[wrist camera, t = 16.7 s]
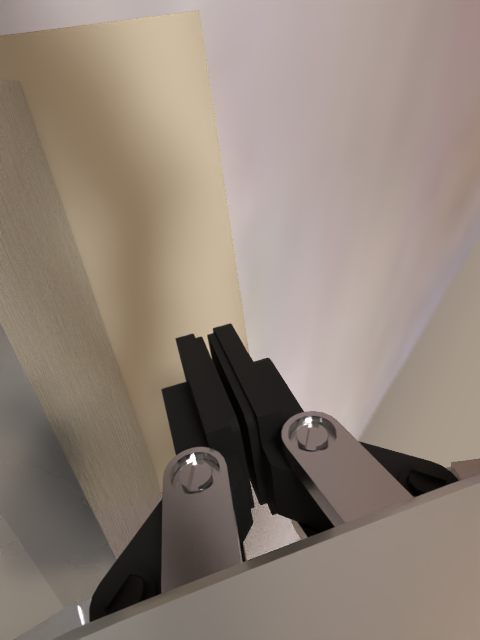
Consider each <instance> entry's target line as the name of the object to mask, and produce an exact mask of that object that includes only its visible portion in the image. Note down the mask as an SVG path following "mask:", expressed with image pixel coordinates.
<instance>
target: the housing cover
mask: <svg viewBox="0 0 480 640" xmlns="http://www.w3.org/2000/svg"><path fill="white" fill-rule="evenodd" d="M160 501H161V495H160V489H159V482H158V479H157V476H156V473H155V471H154V468H153V465H152V462H151V459H150V456H149V453H148V450H147V447H146V444H145V442H144V439H143V436H142V433H141V430H140V427H139V424H138V421H137V418H136V415H135V413H134V410H133V407H132V404H131V401H130V398H129V395H128V392H127V389H126V387H125V384H124V381H123V378H122V375H121V372H120V369H119V366H118V363H117V360H116V358H115V355H114V352H113V349H112V346H111V343H110V340H109V337H108V334H107V332H106V329H105V326H104V323H103V320H102V317H101V314H100V311H99V308H98V305H97V303H96V300H95V297H94V294H93V291H92V288H91V285H90V282H89V279H88V277H87V274H86V271H85V268H84V265H83V262H82V259H81V256H80V253H79V250H78V248H77V245H76V242H75V239H74V236H73V233H72V230H71V227H70V224H69V222H68V219H67V216H66V213H65V210H64V207H63V204H62V201H61V198H60V195H59V193H58V190H57V187H56V184H55V181H54V178H53V175H52V172H51V169H50V167H49V164H48V161H47V158H46V155H45V152H44V149H43V146H42V143H41V140H40V138H39V135H38V132H37V129H36V126H35V123H34V120H33V117H32V114H31V112H30V109H29V106H28V103H27V100H26V97H25V94H24V91H23V88H22V85H21V83H20V80H0V640H13V639H15V638H17V637H18V636H20V635H22V634H23V633H25V632H26V631H28V630H30V629H31V628H33V627H35V626H36V625H38V624H40V623H41V622H43V621H44V620H46V619H48V618H49V617H51V616H53V615H54V614H56V613H57V612H59V611H61V610H62V609H64V608H66V607H67V606H69V605H71V604H72V603H74V602H75V601H76V602H77V604H78V605H80V604H82V603H84V602H85V601H87V600H89V599H90V598H92V596H93V594H94V592H95V590H96V589H97V587H98V585H99V583H100V582H101V581H102V579H103V578H104V576H105V575H106V574H107V572H108V571H109V570H110V568H111V567H112V566H113V564H114V563H115V562H116V560H117V559H118V558H119V556H120V555H121V553H122V552H123V551H124V549H125V548H126V547H127V545H128V544H129V543H130V541H131V540H132V539H133V537H134V536H135V535H136V533H137V532H138V530H139V529H140V528H141V526H142V525H143V524H144V522H145V521H146V520H147V518H148V517H149V516H150V514H151V513H152V511H153V510H154V509H155V507H156V506H157V505H158V503H159V502H160Z"/></svg>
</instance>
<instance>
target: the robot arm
mask: <svg viewBox="0 0 480 640" xmlns="http://www.w3.org/2000/svg"><path fill="white" fill-rule="evenodd" d="M207 338H208V343H209V348H210V352H211V356H210V354H209V351H208V349H207V347H206V344H205V342H204V340H203V337H202V336H201V337H197V338H195V336H194V334H189V335H186V336H182V337H178V338H175V339H176V344H177V348H178V352H179V355H180V359H181V363H182V367H183V371H184V375H185V379H186V382H183V383H180V384H176V385H173V386H170V387H166V388H163V389H161V391H162V395H163V400H164V404H165V409H166V413H167V418H168V422H169V427H170V431H171V436H172V440H173V445H174V449H175V454H176V456H175V457H174V458H173V459H172V460H171V461H170V462H169V463H168V465H167V467H166V468H165V470H164V475H163V496H162V499H161V501H160V502H159V503H158V505H157V506H156V507H155V509H154V510H153V511H152V513H151V514H150V516H149V517H148V518H147V520H146V521H145V522H144V524H143V525H142V526H141V528H140V529H139V530H138V532H137V533H136V535H135V536H134V537H133V539H132V540H131V541H130V543H129V544H128V545H127V547H126V548H125V549H124V551H123V552H122V553H121V555H120V556H119V558H118V559H117V560H116V562H115V563H114V564H113V566H112V567H111V568H110V570H109V571H108V572H107V574H106V575H105V576H104V578H103V579H102V581H101V582H100V583H99V585H98V587H97V589H96V590H95V592H94V594H93V596H92V598H90V599H89V600H87V601H85V602H84V603H82V604H80V605H78V604H77V602H76V601H75V602H74V603H72V604H71V605H69V606H67V607H66V608H64V609H62V610H61V611H59V612H57V613H56V614H54V615H53V616H51V617H49V618H48V619H46V620H44V621H43V622H41V623H40V624H38V625H36V626H35V627H33V628H31V629H30V630H28V631H26V632H25V633H23V634H22V635H20V636H18V637H17V638H15V639H13V640H480V459H473V460H466V461H458V462H451V467H449V468H445V467H443V466H441V465H439V464H436V463H434V462H431V461H428V460H424V459H421V458H417V457H413V456H409V455H406V454H402V453H399V452H395V451H392V450H388V449H384V448H381V447H377V446H373V445H370V444H366V443H363V442H359V441H357V440H356V439H355V438H354V437H353V436H352V435H351V434H350V433H349V432H348V431H347V430H346V429H345V428H344V427H343V426H342V425H341V424H340V423H339V422H338V421H337V420H336V419H335V418H333V417H332V416H330V415H328V414H325V413H323V412H316V411H309V412H304V411H303V409H302V408H301V406H300V405H299V403H298V402H297V400H296V398H295V397H294V395H293V394H292V392H291V391H290V389H289V387H288V386H287V384H286V383H285V381H284V380H283V378H282V377H281V375H280V373H279V372H278V370H277V369H276V367H275V366H274V364H273V362H272V361H271V360H270V359H269V358H265V359H262V360H258V361H255V362H253V360H252V359H251V357H250V355H249V353H248V352H247V350H246V348H245V346H244V345H243V343H242V341H241V339H240V338H239V336H238V334H237V332H236V331H235V329H234V327H233V325H232V324H231V323H230V324H226V325H222V326H219V327H215V328H213V333H212V334H208V335H207ZM211 357H212V358H211ZM250 481H251V484H252V486H253V489H254V491H255V494H256V496H257V499H258V501H259V503H260V505H263V504H266V503H267V504H268V506H269V509H270V511H271V513H272V515H274V514H279V515H281V516H284V517H287V518H289V519H291V521H292V524H293V527H294V529H295V531H296V532H297V534H298V535H299V537H300V538H301V540H300V541H298V542H295V543H292V544H290V545H287V546H284V547H282V548H279V549H277V550H274V551H271V552H269V553H266V554H263V555H261V556H258V557H256V558H253V559H250V560H248V561H247V558H246V552H245V546H244V540H245V538H246V536H247V534H248V532H249V530H250V528H251V526H252V524H253V519H252V514H251V509H252V508H254V501H253V496H252V490H251V485H250Z"/></svg>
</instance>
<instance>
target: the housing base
mask: <svg viewBox="0 0 480 640" xmlns="http://www.w3.org/2000/svg"><path fill="white" fill-rule="evenodd" d="M0 80H20V83H21V85H22V88H23V91H24V94H25V97H26V100H27V103H28V106H29V109H30V112H31V114H32V117H33V120H34V123H35V126H36V129H37V132H38V135H39V138H40V140H41V143H42V146H43V149H44V152H45V155H46V158H47V161H48V164H49V167H50V169H51V172H52V175H53V178H54V181H55V184H56V187H57V190H58V193H59V195H60V198H61V201H62V204H63V207H64V210H65V213H66V216H67V219H68V222H69V224H70V227H71V230H72V233H73V236H74V239H75V242H76V245H77V248H78V250H79V253H80V256H81V259H82V262H83V265H84V268H85V271H86V274H87V277H88V279H89V282H90V285H91V288H92V291H93V294H94V297H95V300H96V303H97V305H98V308H99V311H100V314H101V317H102V320H103V323H104V326H105V329H106V332H107V334H108V337H109V340H110V343H111V346H112V349H113V352H114V355H115V358H116V360H117V363H118V366H119V369H120V372H121V375H122V378H123V381H124V384H125V387H126V389H127V392H128V395H129V398H130V401H131V404H132V407H133V410H134V413H135V415H136V418H137V421H138V424H139V427H140V430H141V433H142V436H143V439H144V442H145V444H146V447H147V450H148V453H149V456H150V459H151V462H152V465H153V468H154V471H155V473H156V476H157V479H158V482H159V489H160V493H162V492H163V475H164V470H165V468H166V467H167V465H168V463H169V462H170V461H171V460H172V459H173V458H174V457H175V456H176V454H175V449H174V445H173V440H172V436H171V431H170V427H169V422H168V418H167V413H166V409H165V404H164V400H163V395H162V391H161V389H163V388H166V387H170V386H173V385H176V384H180V383H183V382H186V379H185V375H184V371H183V367H182V363H181V359H180V355H179V352H178V348H177V344H176V339H175V338H178V337H182V336H186V335H189V334H194V336H195V338H197V337H201V336H202V337H203V340H204V342H205V344H206V347H207V349H208V351H209V354H210V356H211V352H210V348H209V343H208V338H207V335H208V334H212V333H213V328H215V327H219V326H222V325H226V324H230V323H231V324H232V325H233V327H234V329H235V331H236V332H237V334H238V336H239V338H240V339H241V341H242V343H243V345H244V346H245V348H246V350H247V352H248V353H249V349H248V343H247V336H246V329H245V322H244V315H243V308H242V301H241V294H240V288H239V281H238V274H237V267H236V260H235V253H234V246H233V239H232V233H231V226H230V219H229V212H228V205H227V198H226V191H225V184H224V178H223V171H222V164H221V157H220V150H219V143H218V136H217V129H216V123H215V116H214V109H213V102H212V95H211V88H210V81H209V74H208V68H207V61H206V54H205V47H204V40H203V33H202V26H201V19H200V13H199V11H191V12H183V13H175V14H167V15H160V16H152V17H144V18H136V19H128V20H121V21H113V22H105V23H97V24H89V25H82V26H74V27H66V28H58V29H50V30H42V31H35V32H27V33H19V34H11V35H3V36H0ZM211 358H212V357H211Z"/></svg>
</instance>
